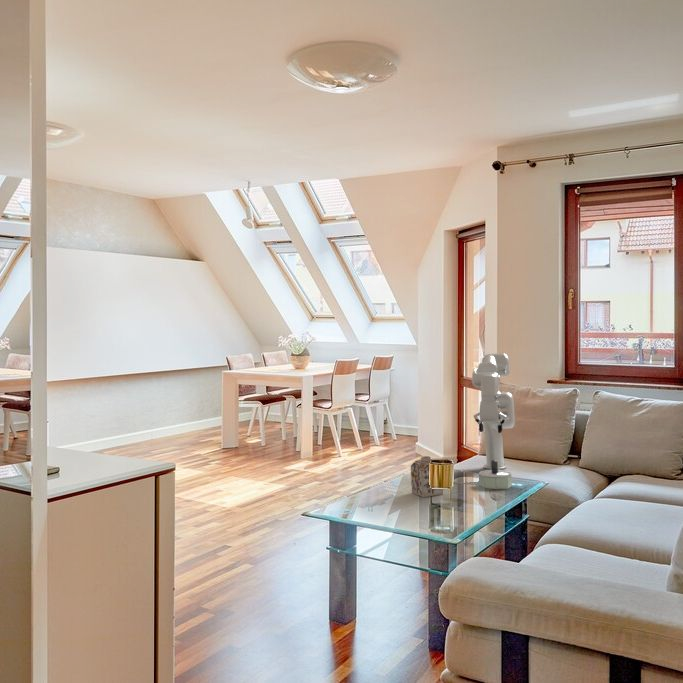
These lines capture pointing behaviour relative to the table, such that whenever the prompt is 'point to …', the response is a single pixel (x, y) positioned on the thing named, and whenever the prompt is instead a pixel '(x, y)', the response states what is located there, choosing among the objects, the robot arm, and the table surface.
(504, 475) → the lid
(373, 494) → the table surface
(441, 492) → the decorative jar
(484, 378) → the robot arm
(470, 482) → the mat
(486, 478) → the bowl
